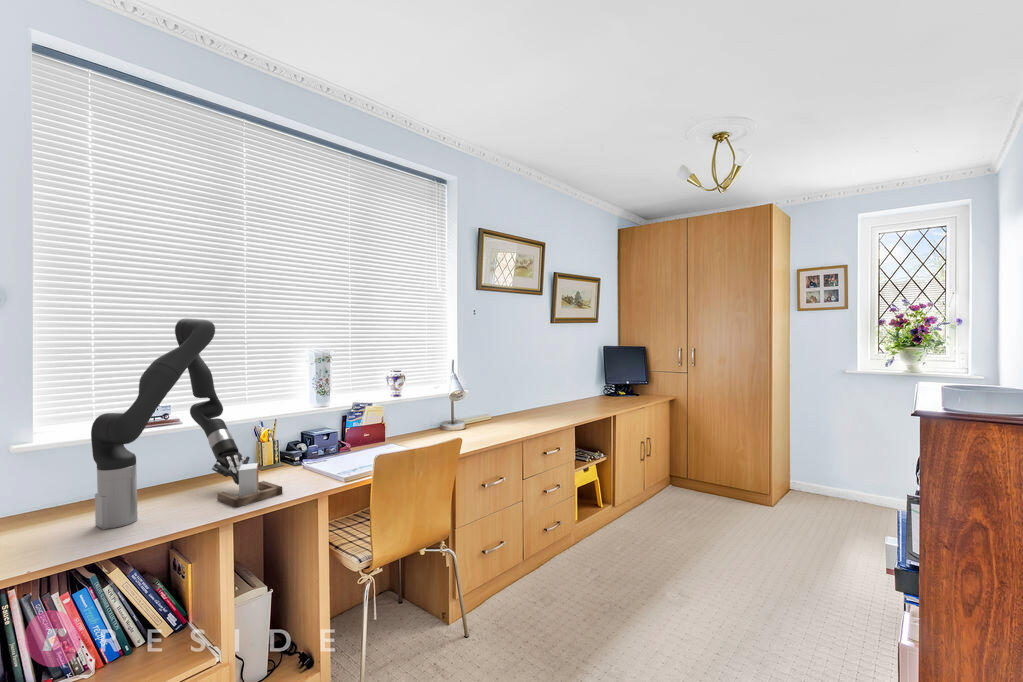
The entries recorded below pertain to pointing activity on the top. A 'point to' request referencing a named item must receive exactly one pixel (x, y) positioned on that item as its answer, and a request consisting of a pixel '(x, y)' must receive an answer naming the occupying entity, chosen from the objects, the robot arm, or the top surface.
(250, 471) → the small box
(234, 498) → the walnut bay
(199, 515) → the top surface
